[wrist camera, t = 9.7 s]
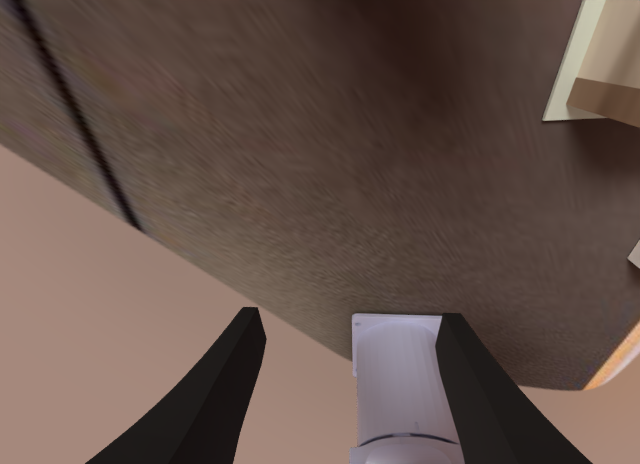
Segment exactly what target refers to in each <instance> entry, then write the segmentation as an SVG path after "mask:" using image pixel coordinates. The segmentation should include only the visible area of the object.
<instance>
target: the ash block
mask: <svg viewBox="0 0 640 464" xmlns="http://www.w3.org/2000/svg"><path fill="white" fill-rule="evenodd" d="M566 105H569V106H573V107H576V108H579V109H582V110H585V111H588V112H591V113H595V114H598V115H601V116H604V117H607V118H610V119H614V120H617V121H620V122H623V123H626V124H629V125H632V126H636V127H639V128H640V0H606V1H605V4H604V7H603V9H602V12H601V14H600V17H599V20H598V22H597V25H596V28H595V30H594V33H593V36H592V38H591V41H590V43H589V46H588V49H587V51H586V54H585V57H584V59H583V62H582V65H581V67H580V70H579V72H578V75H577V77H576V78H575V81H574V84H573V86H572V89H571V92H570V94H569V97H568V100H567V102H566Z"/></svg>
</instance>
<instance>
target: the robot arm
mask: <svg viewBox="0 0 640 464" xmlns="http://www.w3.org/2000/svg"><path fill="white" fill-rule="evenodd" d="M357 322H358V323H357ZM265 344H266V335H265V332H264V329H263V325H262V322H261V318H260V314H259V310H258V307H243V308H242V309H241V310H240V311H239V312H238V314H237V315H236V316H235V318H234V319H233V320H232V322H231V323H230V324H229V325H228V326H227V328H226V329H225V330H224V331H223V333H222V334H221V335H220V336H219V338H218V339H217V340H216V341H215V342H214V344H213V345H212V346H211V347H210V348H209V350H208V351H207V352H206V353H205V354H204V356H203V357H202V358H201V359H200V360H199V361H198V362H197V363H196V364H195V365H194V367H193V368H192V369H191V370H190V371H189V372H188V373H187V374H186V376H184V377H183V379H182V380H181V381H180V382H179V383H178V384H177V385H176V386H175V387H174V388H173V389H172V390H171V391H170V392H169V393H168V394H167V395H166V396H165V397H164V398H162V399H161V400H160V401H159V402H158V403H157V404H156V405H155V406H154V407H153V408H152V409H151V410H149V411H148V412H147V413H146V414H145V415H144V416H143V417H142V418H141V419H139V420H138V421H137V422H136V423H135V424H134V425H133V426H131V427H130V428H129V429H128V430H127V431H125V432H124V433H123V434H122V435H120V436H119V437H118V438H117V439H115V440H114V441H113V442H112V443H110V444H109V445H108V446H107V447H106V448H104V449H103V450H102V451H101V452H99V453H98V454H97V455H96V456H94V457H93V458H92V459H90V460H89V461H88V462H86V463H85V464H233V461H234V457H235V452H236V448H237V443H238V439H239V435H240V431H241V428H242V424H243V421H244V418H245V414H246V411H247V408H248V405H249V402H250V398H251V396H252V393H253V390H254V387H255V384H256V380H257V377H258V374H259V370H260V368H261V364H262V359H263V355H264V350H265ZM352 352H353V376H354V377H356V378H357V447H355V448H350V456H349V464H593V463H592V462H590V461H589V460H588V459H587V458H586V457H585V456H584V455H583V454H582V453H581V452H580V451H579V450H578V449H577V448H576V447H574V445H572V444H571V442H570V441H568V440H567V439H566V438H565V437H564V436H563V435H562V434H561V433H560V432H559V431H558V430H557V429H556V428H555V427H554V426H553V424H552V423H551V422H550V421H549V420H547V418H546V417H545V416H544V415H543V414H542V413H541V412H540V411H539V410H538V409H537V408H536V407H535V405H534V404H533V403H532V402H531V401H530V400H529V399H528V398H527V397H526V395H525V394H524V393H523V392H522V391H521V390H520V389H519V387H518V386H517V385H516V384H515V383H514V382H513V380H512V379H511V378H510V377H509V376H508V375H507V373H506V372H505V371H504V370H503V368H502V367H501V366H500V365H499V363H498V362H497V361H496V360H495V359H494V357H493V356H492V355H491V353H490V352H489V351H488V350H487V348H486V347H485V346H484V344H483V343H482V342H481V340H480V339H479V338H478V336H477V335H476V334H475V332H474V331H473V330H472V328H471V327H470V325H469V324H468V323H467V321H466V320H465V318H464V317H463V316H462V315H461V314H460V313H443V315H442V316H427V315H394V314H362V313H357V314H354V315H353V316H352Z"/></svg>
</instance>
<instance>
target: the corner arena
mask: <svg viewBox="0 0 640 464" xmlns="http://www.w3.org/2000/svg"><path fill="white" fill-rule="evenodd" d="M605 1H606V0H583V1H582V4H581V7H580V9H579V12H578V15H577V18H576V21H575V24H574V27H573V30H572V33H571V36H570V39H569V42H568V45H567V48H566V51H565V54H564V56H563V59H562V62H561V65H560V68H559V71H558V74H557V77H556V80H555V83H554V86H553V89H552V92H551V95H550V98H549V100H548V103H547V106H546V109H545V112H544V115H543V118H542V120H543V121H550V120H571V119H592V118H607V117H604V116H601V115H598V114H595V113H591V112H588V111H585V110H582V109H579V108H576V107H573V106H569V105H566V102H567V100H568V97H569V94H570V92H571V89H572V86H573V84H574V81H575V78H576V77H577V75H578V72H579V70H580V67H581V65H582V62H583V59H584V57H585V54H586V51H587V49H588V46H589V43H590V41H591V38H592V36H593V33H594V30H595V28H596V25H597V22H598V20H599V17H600V14H601V12H602V9H603V7H604V4H605ZM627 259H629V260H630V261H631V262H632V263H633V264H635V265H636V266H637V267H638V268H640V240H639V241H638V243H637V244H636V246H635V247H634V249H633V250H632V252H631V253H630V255H629V256H628V258H627Z"/></svg>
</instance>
